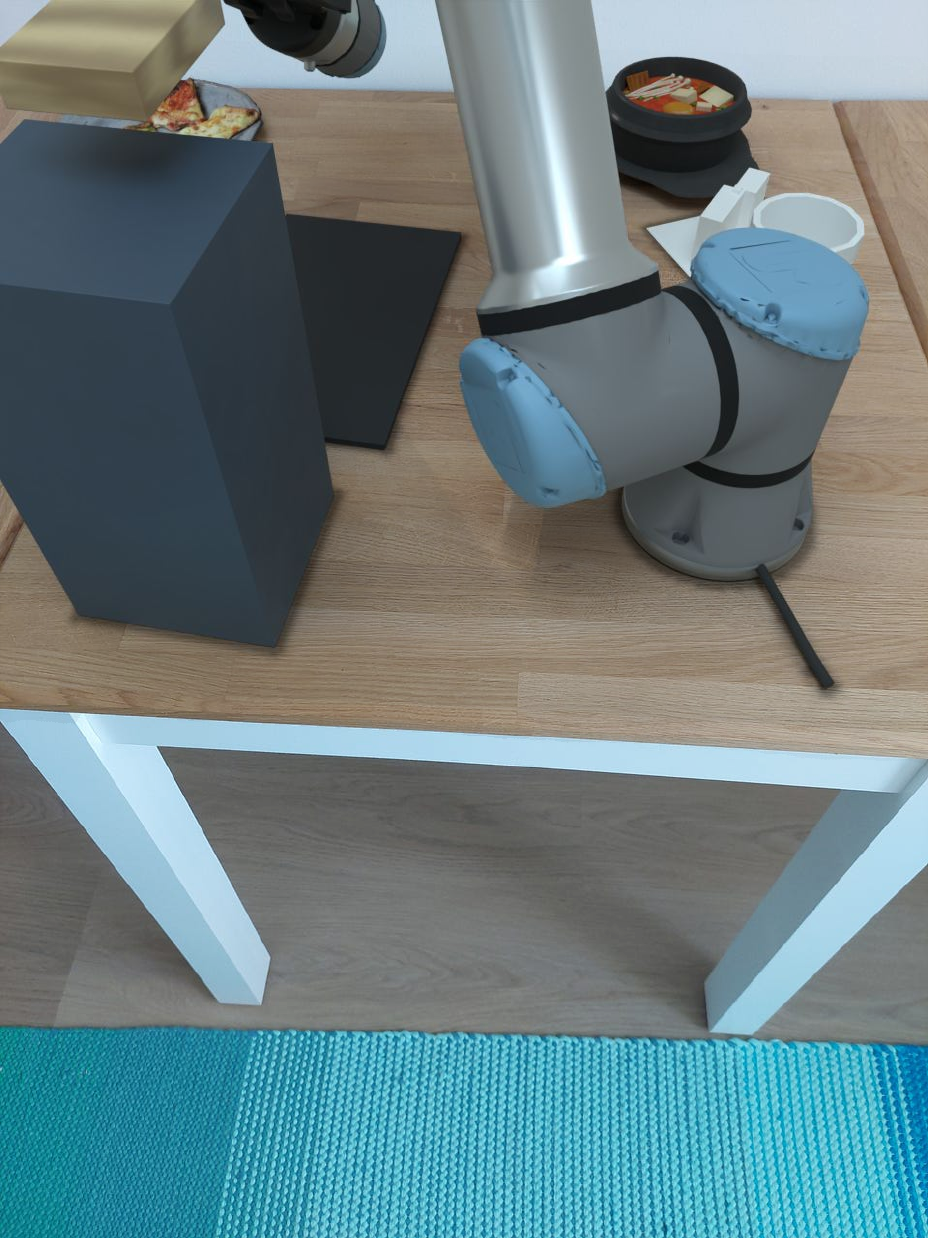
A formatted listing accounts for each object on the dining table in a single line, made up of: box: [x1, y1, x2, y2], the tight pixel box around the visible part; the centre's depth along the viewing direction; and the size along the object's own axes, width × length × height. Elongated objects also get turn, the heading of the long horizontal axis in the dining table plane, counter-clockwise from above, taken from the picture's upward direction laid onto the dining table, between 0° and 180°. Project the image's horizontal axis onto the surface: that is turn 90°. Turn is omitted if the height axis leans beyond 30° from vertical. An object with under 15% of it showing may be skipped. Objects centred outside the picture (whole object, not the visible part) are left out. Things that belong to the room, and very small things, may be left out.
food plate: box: [58, 77, 264, 141], centre depth 113 cm, size 25×23×4 cm
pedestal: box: [0, 118, 335, 648], centre depth 64 cm, size 16×16×30 cm
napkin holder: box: [645, 168, 771, 278], centre depth 99 cm, size 15×11×6 cm
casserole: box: [605, 56, 761, 199], centre depth 108 cm, size 25×19×8 cm
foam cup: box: [749, 192, 865, 266], centre depth 85 cm, size 10×9×13 cm
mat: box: [285, 213, 462, 451], centre depth 93 cm, size 34×20×1 cm, turn 169°
